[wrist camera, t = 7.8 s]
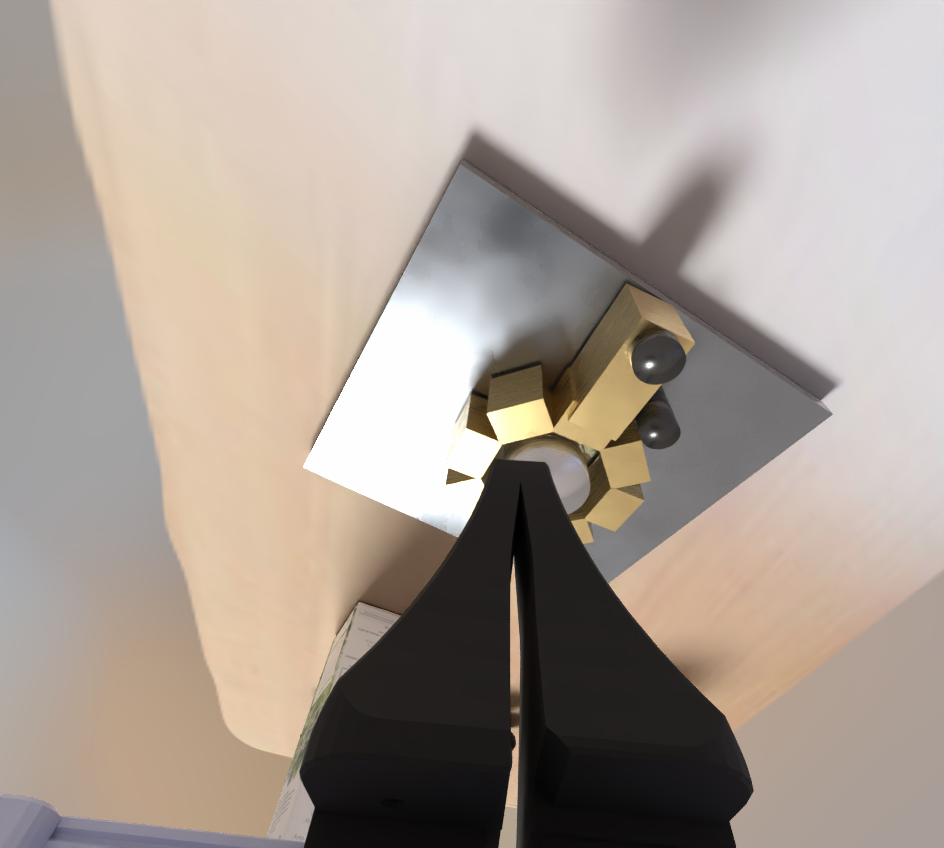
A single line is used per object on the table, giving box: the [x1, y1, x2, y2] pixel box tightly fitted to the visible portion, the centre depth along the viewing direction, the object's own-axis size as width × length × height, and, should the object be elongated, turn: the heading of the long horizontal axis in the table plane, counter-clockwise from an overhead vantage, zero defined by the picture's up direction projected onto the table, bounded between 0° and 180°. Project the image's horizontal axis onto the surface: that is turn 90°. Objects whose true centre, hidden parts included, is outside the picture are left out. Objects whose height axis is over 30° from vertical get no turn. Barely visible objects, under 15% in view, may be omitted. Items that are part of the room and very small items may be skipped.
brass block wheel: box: [445, 283, 695, 544], centre depth 20 cm, size 12×8×4 cm
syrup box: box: [266, 602, 401, 842], centre depth 30 cm, size 6×6×14 cm
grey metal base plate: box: [303, 159, 833, 583], centre depth 22 cm, size 18×16×4 cm
